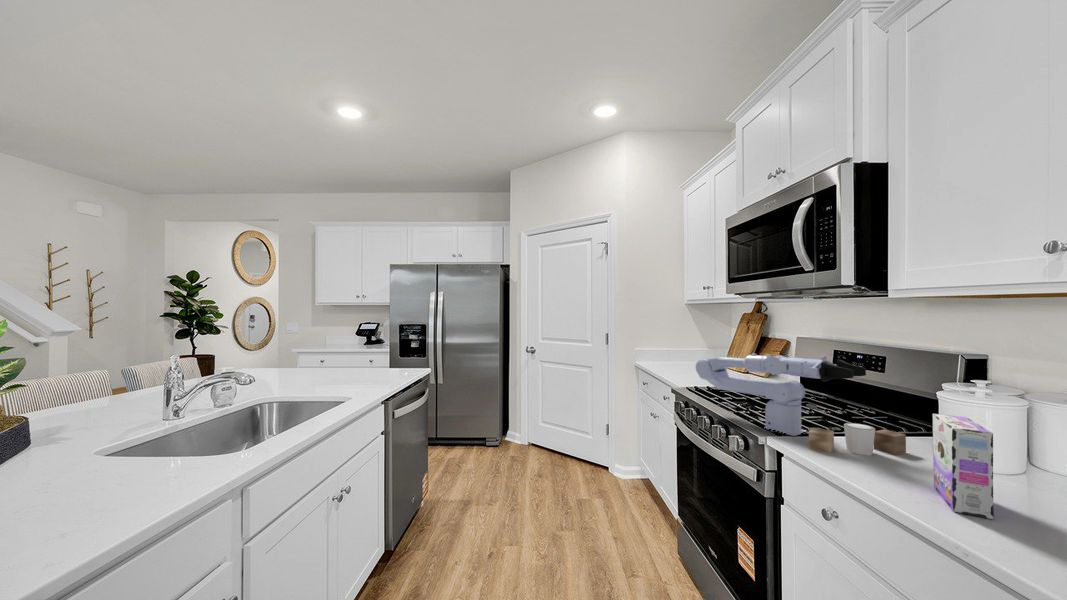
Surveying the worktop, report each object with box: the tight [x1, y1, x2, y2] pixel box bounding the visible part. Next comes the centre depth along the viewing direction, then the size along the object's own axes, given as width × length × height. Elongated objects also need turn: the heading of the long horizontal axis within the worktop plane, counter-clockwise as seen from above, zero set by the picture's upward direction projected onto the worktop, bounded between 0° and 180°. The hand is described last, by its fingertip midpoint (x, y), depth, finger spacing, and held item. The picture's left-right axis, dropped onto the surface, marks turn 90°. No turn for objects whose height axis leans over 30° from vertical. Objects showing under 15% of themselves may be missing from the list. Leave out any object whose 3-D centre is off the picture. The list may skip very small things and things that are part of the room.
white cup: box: [843, 422, 876, 456], centre depth 114 cm, size 7×7×7 cm
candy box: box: [931, 413, 995, 520], centre depth 85 cm, size 14×6×16 cm, turn 148°
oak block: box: [808, 427, 835, 454], centre depth 117 cm, size 5×5×5 cm
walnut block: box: [873, 429, 907, 456], centre depth 115 cm, size 5×5×5 cm
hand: (859, 373), depth 116 cm, fingers open, 7 cm apart
